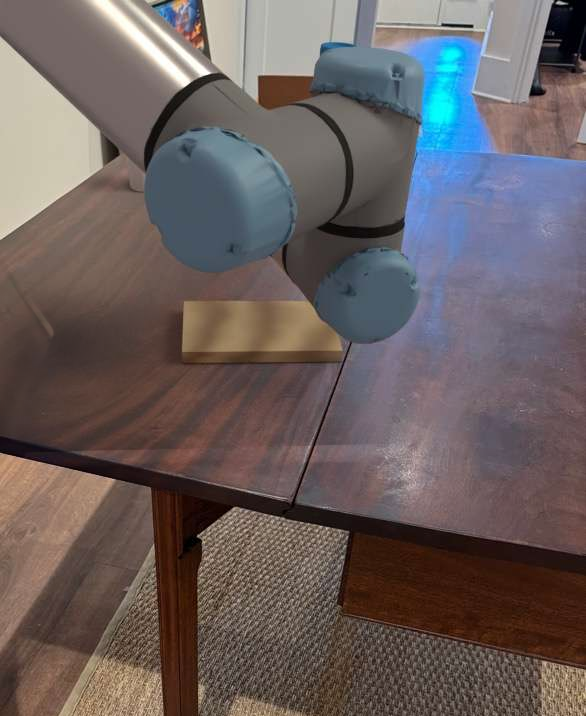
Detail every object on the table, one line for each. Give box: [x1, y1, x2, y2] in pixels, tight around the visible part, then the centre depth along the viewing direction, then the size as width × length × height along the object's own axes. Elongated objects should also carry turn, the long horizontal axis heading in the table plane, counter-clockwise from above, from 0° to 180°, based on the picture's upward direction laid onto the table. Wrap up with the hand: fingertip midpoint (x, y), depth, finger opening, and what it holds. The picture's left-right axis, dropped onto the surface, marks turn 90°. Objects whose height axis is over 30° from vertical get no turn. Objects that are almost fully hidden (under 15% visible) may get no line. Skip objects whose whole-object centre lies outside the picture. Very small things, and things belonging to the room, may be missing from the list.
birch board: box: [181, 300, 344, 364], centre depth 84 cm, size 18×12×2 cm, turn 96°
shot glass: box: [124, 154, 146, 193], centre depth 120 cm, size 7×7×7 cm
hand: (228, 153), depth 80 cm, fingers closed on white cup, 8 cm apart
